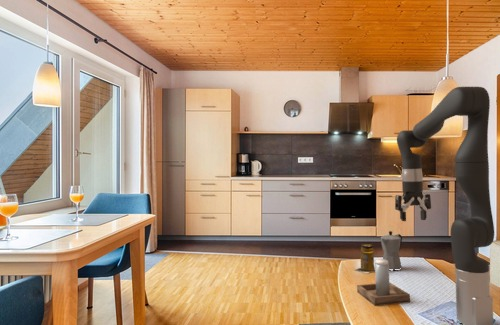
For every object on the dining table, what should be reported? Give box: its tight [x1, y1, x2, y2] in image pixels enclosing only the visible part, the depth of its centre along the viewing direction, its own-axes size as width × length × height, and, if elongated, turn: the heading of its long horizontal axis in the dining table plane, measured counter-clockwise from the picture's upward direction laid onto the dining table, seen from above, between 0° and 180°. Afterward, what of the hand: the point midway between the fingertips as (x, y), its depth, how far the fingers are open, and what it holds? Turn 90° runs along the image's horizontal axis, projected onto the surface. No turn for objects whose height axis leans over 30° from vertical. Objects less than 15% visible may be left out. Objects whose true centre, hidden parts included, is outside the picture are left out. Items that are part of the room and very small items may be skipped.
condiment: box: [354, 243, 375, 274], centre depth 173 cm, size 7×8×12 cm
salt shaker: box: [374, 258, 390, 296], centre depth 139 cm, size 5×5×13 cm
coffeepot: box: [380, 230, 403, 270], centre depth 176 cm, size 15×9×18 cm, turn 125°
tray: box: [356, 281, 411, 307], centre depth 139 cm, size 14×14×3 cm
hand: (413, 220), depth 145 cm, fingers open, 8 cm apart
